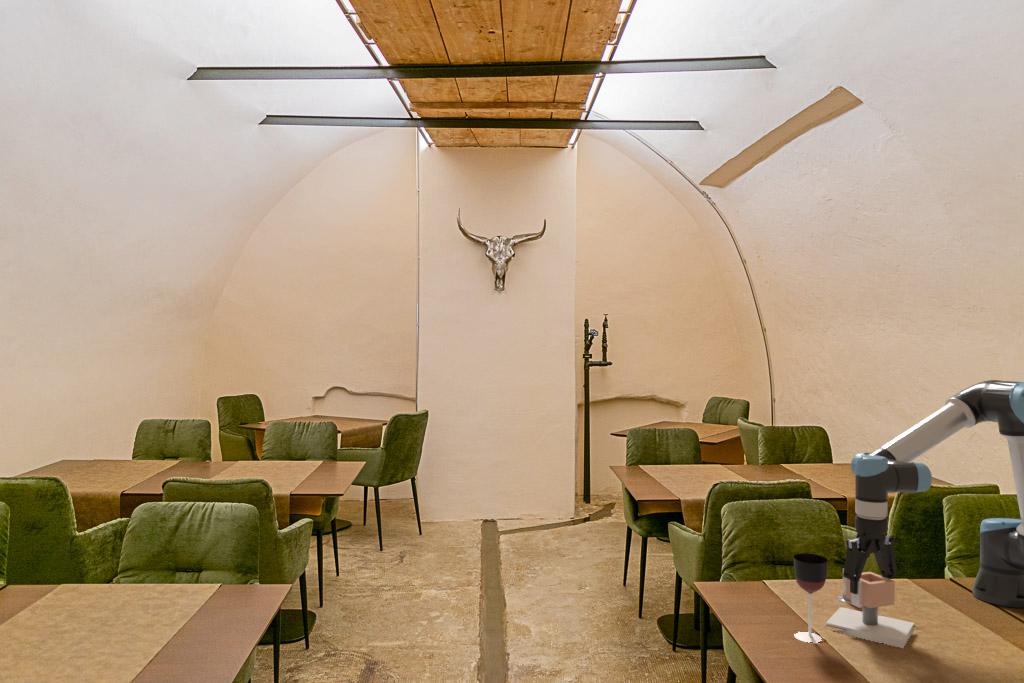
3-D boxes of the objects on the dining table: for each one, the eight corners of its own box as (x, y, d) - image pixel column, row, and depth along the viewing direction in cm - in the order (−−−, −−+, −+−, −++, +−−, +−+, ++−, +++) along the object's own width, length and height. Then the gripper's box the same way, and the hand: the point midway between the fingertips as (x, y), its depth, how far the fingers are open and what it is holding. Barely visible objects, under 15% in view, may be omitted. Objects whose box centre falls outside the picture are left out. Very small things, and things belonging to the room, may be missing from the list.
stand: (864, 604, 212) (864, 569, 212) (858, 611, 207) (858, 575, 207) (839, 599, 216) (839, 564, 216) (833, 605, 211) (833, 570, 211)
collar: (869, 594, 198) (870, 571, 198) (894, 604, 191) (894, 581, 191) (845, 597, 196) (846, 574, 196) (869, 608, 188) (870, 584, 188)
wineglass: (825, 632, 192) (826, 555, 191) (828, 646, 184) (828, 565, 183) (792, 628, 194) (793, 552, 194) (793, 641, 186) (794, 561, 186)
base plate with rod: (914, 630, 193) (914, 587, 193) (903, 648, 182) (903, 602, 182) (840, 614, 204) (840, 573, 204) (825, 630, 193) (826, 587, 193)
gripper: (890, 509, 200) (889, 594, 200) (827, 515, 193) (826, 603, 193) (914, 516, 193) (912, 604, 193) (849, 522, 186) (848, 613, 186)
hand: (869, 603), depth 193 cm, fingers closed on collar, 8 cm apart
